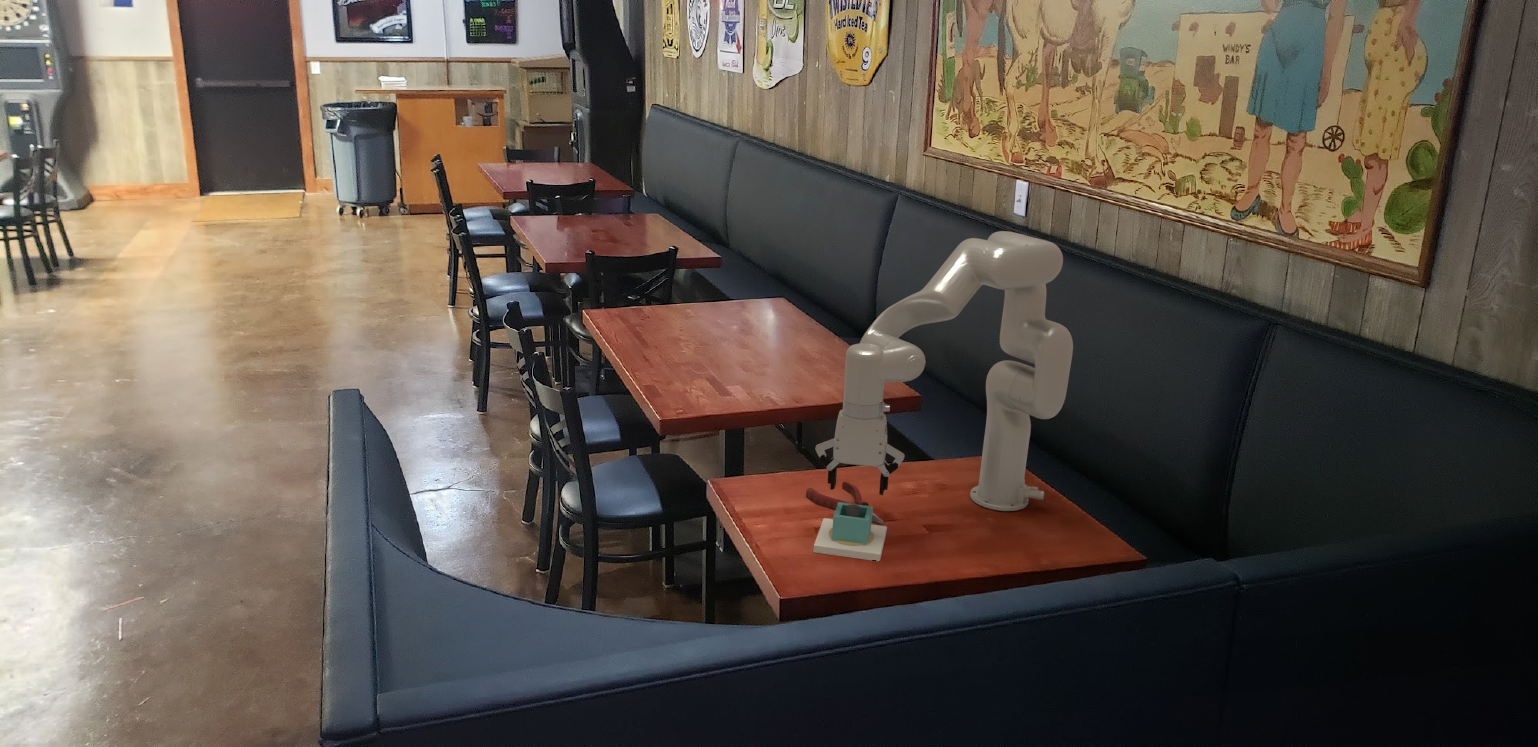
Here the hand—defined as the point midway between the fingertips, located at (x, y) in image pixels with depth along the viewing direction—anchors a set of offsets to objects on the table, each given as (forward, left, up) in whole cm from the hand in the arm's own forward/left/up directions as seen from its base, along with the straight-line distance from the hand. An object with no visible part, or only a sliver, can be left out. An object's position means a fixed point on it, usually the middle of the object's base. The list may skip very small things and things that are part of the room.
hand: (857, 489), depth 223 cm
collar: (0, 0, -10) cm, 10 cm away
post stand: (0, 0, -11) cm, 11 cm away
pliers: (+4, -16, -12) cm, 20 cm away
